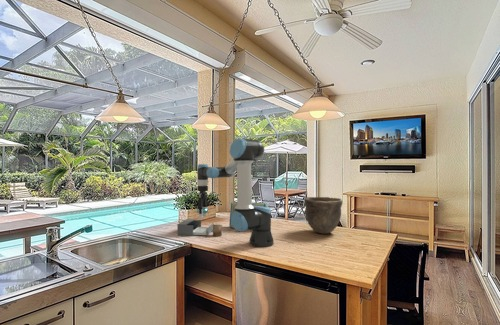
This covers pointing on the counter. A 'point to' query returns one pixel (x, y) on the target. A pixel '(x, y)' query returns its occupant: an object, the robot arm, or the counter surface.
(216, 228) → the post
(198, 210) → the disc
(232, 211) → the radio
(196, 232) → the tray
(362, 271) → the counter surface
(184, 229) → the box
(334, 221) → the clay pot
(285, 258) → the counter surface
